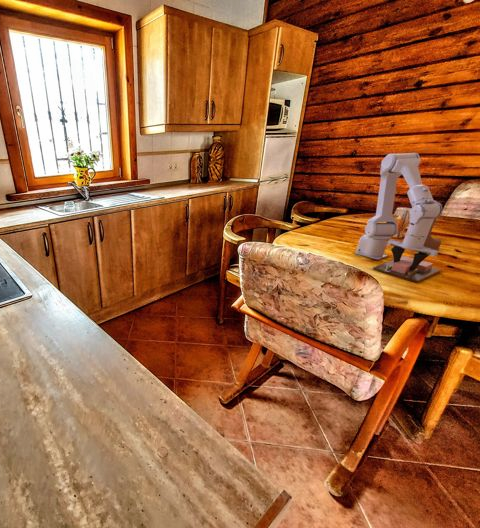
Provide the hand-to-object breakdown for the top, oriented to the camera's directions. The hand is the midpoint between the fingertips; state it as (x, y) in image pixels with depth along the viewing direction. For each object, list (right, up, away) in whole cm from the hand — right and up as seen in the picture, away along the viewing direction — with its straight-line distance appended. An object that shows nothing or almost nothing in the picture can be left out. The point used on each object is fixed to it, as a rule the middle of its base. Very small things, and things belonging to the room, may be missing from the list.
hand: (403, 267), depth 111 cm
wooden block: (+32, +9, +22) cm, 40 cm away
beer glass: (+33, +16, +38) cm, 53 cm away
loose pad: (0, -1, +1) cm, 1 cm away
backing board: (+3, -2, +2) cm, 4 cm away
